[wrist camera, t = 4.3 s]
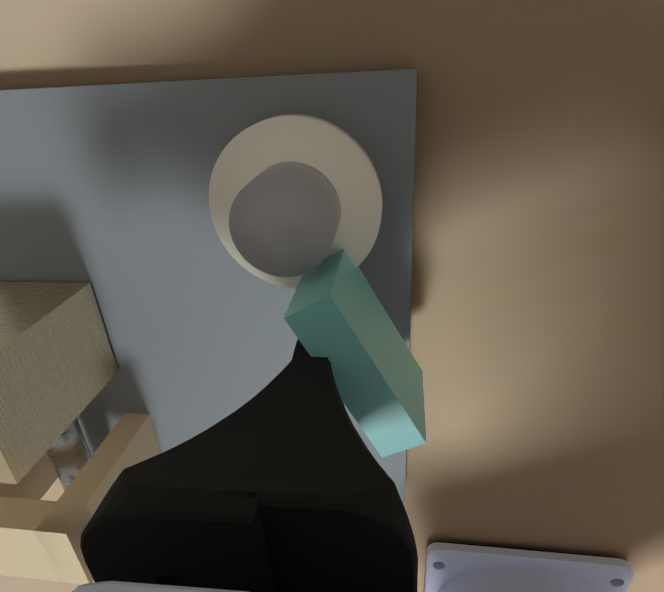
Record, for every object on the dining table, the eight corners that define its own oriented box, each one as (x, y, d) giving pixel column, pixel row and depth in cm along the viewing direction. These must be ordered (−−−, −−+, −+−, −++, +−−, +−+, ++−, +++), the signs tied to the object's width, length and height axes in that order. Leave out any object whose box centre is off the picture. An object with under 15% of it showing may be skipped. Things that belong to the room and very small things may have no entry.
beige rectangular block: (154, 484, 19) (81, 610, 15) (76, 478, 20) (-16, 598, 16) (90, 282, 15) (-37, 377, 11) (-7, 281, 16) (-165, 371, 11)
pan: (472, 345, 14) (489, 422, 11) (341, 395, 15) (327, 475, 12) (325, 76, 11) (298, 86, 8) (183, 171, 12) (119, 207, 10)
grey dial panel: (404, 484, 19) (405, 646, 14) (63, 459, 21) (-46, 591, 16) (416, 68, 12) (426, 81, 7) (-94, 94, 14) (-375, 120, 9)
